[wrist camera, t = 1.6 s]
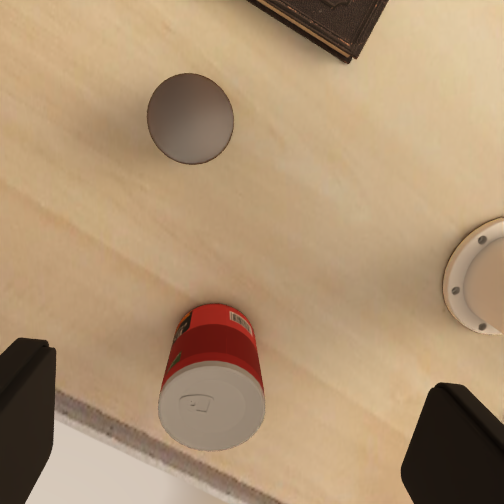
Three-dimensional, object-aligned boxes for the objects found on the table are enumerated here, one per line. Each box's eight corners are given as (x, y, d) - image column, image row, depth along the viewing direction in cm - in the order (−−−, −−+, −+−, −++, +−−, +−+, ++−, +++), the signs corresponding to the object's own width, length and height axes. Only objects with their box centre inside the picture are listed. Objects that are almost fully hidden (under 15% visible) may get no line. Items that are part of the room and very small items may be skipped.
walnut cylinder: (223, 84, 31) (224, 65, 23) (237, 152, 32) (241, 155, 25) (157, 97, 30) (136, 82, 23) (174, 164, 32) (159, 172, 24)
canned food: (174, 300, 36) (154, 366, 25) (255, 300, 36) (268, 364, 26) (176, 368, 38) (158, 454, 28) (253, 367, 39) (264, 451, 28)
